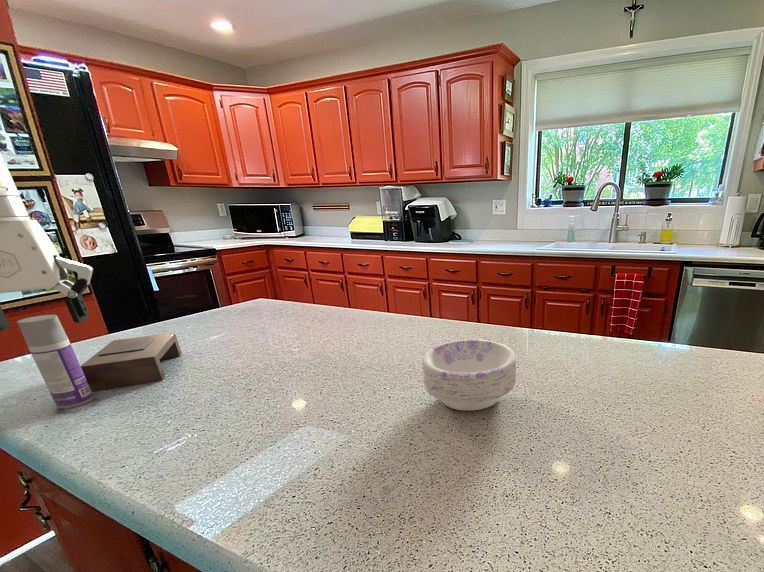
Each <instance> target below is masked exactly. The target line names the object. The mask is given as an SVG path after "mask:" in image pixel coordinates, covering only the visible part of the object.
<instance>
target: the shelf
mask: <svg viewBox="0 0 764 572" xmlns="http://www.w3.org/2000/svg"><path fill="white" fill-rule="evenodd" d="M182 354H183V353H182V350H181V347H180V344H179V341H178V337H177V334H176V332H170V333H161V334H153V335H147V336H146V335H145V336H137V337H130V338H122V339H121V338H119V339H113V340H111V341H110V342H109V343H107V345H105V346H104V347H103V348H101V349H100V350H99V351H98V352H96V353H95V354H94V355H92V356H91V357H90V358H89V359H87V360H86V361H84V362H83V363H82V364H80V366H81V369H82V371H83V373H84V376H85V378H86V380H87V382H88V385H89V387H90V389H91V391H92V393H93V392H98V391H99V392H100V391H105V390H111V389H118V388H125V387H130V386H136V385H143V384H149V383H156V382H161V381H164V379H165V378H166V375H165V372H164V369H163V366H162V363H161V360H165V359H171V358H178V357H181V356H182Z"/></svg>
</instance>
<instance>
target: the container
mask: <svg viewBox="0 0 764 572" xmlns="http://www.w3.org/2000/svg"><path fill="white" fill-rule="evenodd" d="M16 323H17V325H18V328H19V330H20V332H21V334H22V336H23V339H24V341H25V343H26V345H27V348H28V351H29V352H30V354H31V357H32V358H33V360H34V362H35V365H36V367H37V369H38V371H39V373H40V375H41V377H42V379H43V381H44V383H45V385H46V388H47V389H48V391H49V394H50V395H51V397H52V400H53V402H54V403H55V405H56V408H57V409H63V410H64V409H72V408H76V407H79V406H83V405H86V404H88V403H89V402H91V401H93V400H94V399H95V396H94V394H93V392H92V391H91V389H90V387H89V385H88V382H87V380H86V378H85V376H84V373H83V371H82V369H81V364H80V362H79V360H78V358H77V355H76V352H75V350H74V348H73V346H72V344H71V342H70V340H69V337H68V336H67V333H66V331H65V329H64V327H63V326H62V324H61V321H60V319H59V317H58V315H57V314H44V315H36V316H31V317H26V318H22V319H19V320H17V322H16Z"/></svg>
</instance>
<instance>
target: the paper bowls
mask: <svg viewBox="0 0 764 572" xmlns="http://www.w3.org/2000/svg"><path fill="white" fill-rule="evenodd" d="M421 364H422V376H423V386H424V389H425V391H426V392H427V393H428V395H429V396H431V397H433V398H435V399H437V400H439V401H440V402H441V403H442V404H443V405H445V406H447V407H448V408H451V409H452V410H457V411H464V412H465V411H468V412H470V411H471V412H472V411H473V412H474V411H480V410H485V409H488V408H489V407H492V406H493V405H495V404H496V403H498V402H499V400H501V398H502V397H503V396H505V395H507V394H509V393H510V392H511V391H513V389H514V388H515V385H516V381H517V356H516V353H515V351H514V350H513V349H512V348H511V347H509V346H507V345H505V344H503V343H500V342H498V341H497V342H496V341H492V340H485V339H460V340H453V341H448V342H443V343H441V344H438V345H435V346H433V347H431V348H429V349H428V350H427V351H426V352H425V353H424V354H423V356H422V359H421Z"/></svg>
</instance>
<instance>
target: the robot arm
mask: <svg viewBox="0 0 764 572" xmlns="http://www.w3.org/2000/svg"><path fill="white" fill-rule="evenodd" d="M9 170H10V169H9V168H8V166H7V163H6V161H5V159H4V156H3V154H2V152H1V151H0V294H6V293H7V294H8V293H19V292H28V291H39V290H46V289H50V288H52V289H54V290H55V291H58V292H59V293H61V294H63V295H65V296H66V298H65V299H64V303H65V305H66V307H67V310H68V312H69V315H70V317H71V319H72V321H73V322H74V323H76V324H79V323H83V322H85V321H86V320H88V319H89V315H90V312H89V309H88V307H87V304H86V302H85V300H84V298H83V295H84V293H85V291H86V290H87V289H88V288H89V286H90V285H91V279H92V276H93V272H94V268H93V267H92V266H91V265H87V264H83V263H80V262H77V261H73V260H70V259H66V258H63V257H61V256H60V253H59V251H58V250H57V248H56V246H55V245H54V244H53V242H52V240H51V238H50V237H49V236H48V234H47V232H46V231H45V230H44V228H43V226H42V225H41V224H40V223H39V222H38V220H37V219H32V218H31V217H30V214H29V213H28V211H27V208H26V206H25V204H24V202H23V200H22V196H20V193H19V191H18V188H17V186H16V184H15V182H14V179H13V176H12V174H11V172H10V171H9ZM67 270H68V271H70V272H71V271H72V272H75V273H76V274H77V279H76V281H75V282H72V281H70V280H69V279H70V277H69V273H68V271H67ZM9 328H11V324H10V322H9V320H8V318H7V316H6V314H5V312H4V310H3V309H2V306H1V305H0V332H3V331H5V330H7V329H9Z"/></svg>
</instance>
